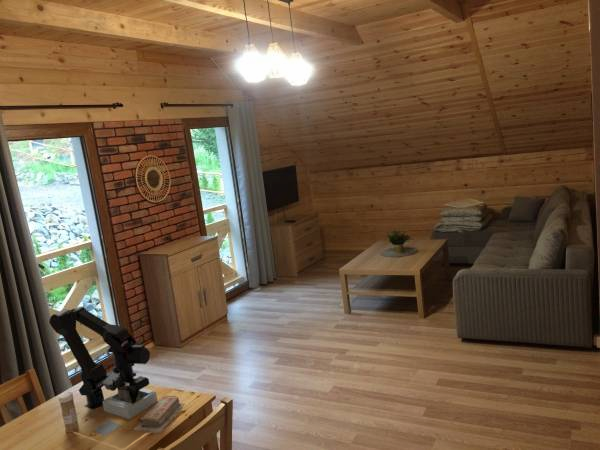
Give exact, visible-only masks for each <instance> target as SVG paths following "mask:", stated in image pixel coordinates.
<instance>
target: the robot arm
mask: <svg viewBox="0 0 600 450" xmlns="http://www.w3.org/2000/svg"><path fill="white" fill-rule="evenodd" d="M48 321H49V325H50V326H51V328H52V329H53V330H54V332H55V333H56V334H58V335H60V336H61V337H63V339H64V341H65V342H66V344H67V346H68V348H69V350H70V351H71V352H72V353H71V354H72V355H73V356H74V358H75V360H76V362H77V364H78V366H79V367H80V370H81V375H80V376H81V378H80V379H81V381H82V383H83V384H82V385H81V387H80V388H79V390H78V391H79V394H80V396H85V398H86V399H85V400H86V404H85V405H84V406H83V407H85V408H89V409H91V410H96V409H97V408H100V407H101V406H103V402H102V401H104V400H105V396H104V392H103V389H102V388H103V387H104V388H105V389H106V390H107V391H109V390H110V391H111V392H113V391H115V390H117V389H119V388H120V387H122V386H124V385H126V384H129V387H128V388H127V389H126V390H127V391H129V393H130V396H131V400H132V402H133V403H135V402H136V399H137V395H138V392H139V390H140V389H142V388H145V387H147V386H149V385H150V379H149V378H148V377H145V376H142V375H139V376H138V377H136V376H137V373H136V372H134V370H133V367H134V366H135V365H136V364H137V365H146V364H147V363H148V362H149V361H150V358H151V357H150V355H151V352H150V350H149V349H148V348H147V347H145V344H138V342H137V341H136V339H135V338H134V337H133V335H131V333H130V332H129V330H128V329H127V328H125V327H123V326H121V325H118V324H112V323H108V322H107V321H105V320H104V319H101V317H98V316H97V315H96V314H93V313H92V312H90V311H89V310H87V309H86V308H85V307H84V306H78V307H76V308H75V307H74V308H72V309H69V308H65V309H62V310H60V311H58V312H55V313H54V314H52V315H51V316H50V317H49V320H48ZM77 322H78V323H80V324H81V325H83V326H84V327H86V328H88V329H90V330H91V331H93V332H95V333H97V335H99V336H100V337H101V338H102V340H103V342H104V343H106V345H108V346H109V349H107V351H106V352H107V353H111V354H112V356H113V360H114V366H113V367H112V371H111V372H109V373H108V371H107V370H106V368H105V367H104V365H103V364H102V363H99V364H97V363H96V362H95V361H94V359H93V358H92V356H91V354H90V352H89V350H88V348H87V347H86V345H85V342H84V341H83V340H82V338H81V336H80V334H79V332H78V331H77ZM134 377H136V378H134Z"/></svg>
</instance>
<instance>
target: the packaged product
mask: <svg viewBox="0 0 600 450" xmlns="http://www.w3.org/2000/svg"><path fill="white" fill-rule="evenodd" d="M154 404H155V405H154ZM154 404H153V406H152V407H151V408H150V409H149V410H148V411H147V412H146V413H145V414H144V415H143V416H142V417H141V418H140V422H139V423H138V424H137V425H136V426H135V427H134V428H133V429H134V431H138V432H139V431H140V432H141V431H145V432H146V433H153V434H160V433H162V432H163V431H164V429H165V428H166V426H168V424H170V422H171V421H173V420H174V419H175V417H176V416H177V415H178V414H179V413H180V411H181V410H182V409H183V408H184V405H185V403H180V399H179V397H178V396H176V395H163V396H162V398H160V399H159V400H157V402H156V403H154Z"/></svg>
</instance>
